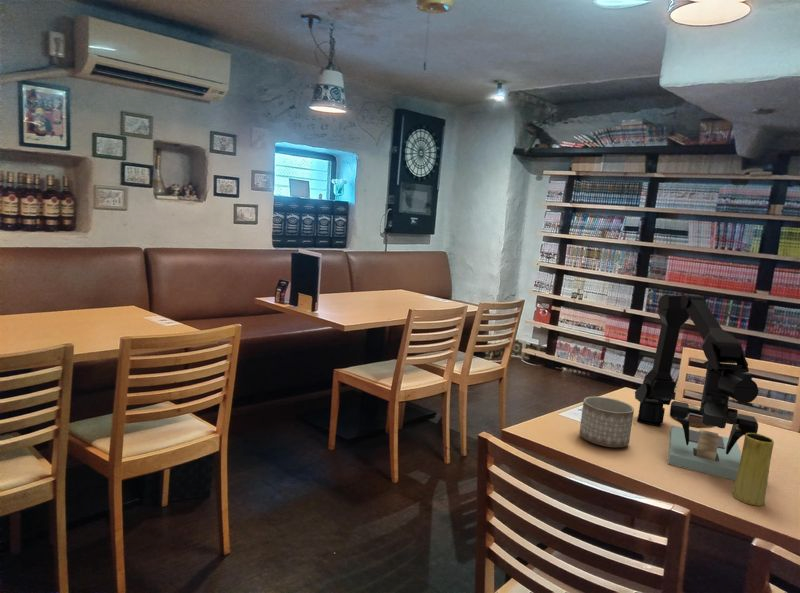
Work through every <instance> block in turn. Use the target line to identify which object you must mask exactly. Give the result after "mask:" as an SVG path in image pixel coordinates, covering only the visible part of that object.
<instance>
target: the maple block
mask: <svg viewBox="0 0 800 593" xmlns="http://www.w3.org/2000/svg"><path fill="white" fill-rule="evenodd" d="M699 431H700V433H699V439H698V445H697V451H696V456H698V457H702V458H706V459H710V460H714V461H715V459H716V453H717V448H718V442H719V436H720V435H719V433H717V432H714V431H709V430H703V429H699Z"/></svg>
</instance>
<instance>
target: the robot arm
mask: <svg viewBox="0 0 800 593" xmlns="http://www.w3.org/2000/svg"><path fill="white" fill-rule="evenodd" d="M657 303H658V304H657V305H658V310H657V314H658V316H659V319H660V320H661V326H660V330H659V331H660V332H659V335H658V339H657V345H656V349H655V356H654V361H653V366H652V369H650V370H649V372H648V373H647V374H645V376H644V378H643V382H642V384H640V386H639V387H638V388H637V389H636V390H635V391H634V399H635V400H636V401H638V402H639V408H638V414H637V418H636V421H637V422H638V423H644V424H647V425H652V426H656V427H661V425H662V424H663V423H664V417H665V410H666V409H665V407H664V405H667V406H670V408H669V416H670V417H672V418H673V417H676V419H675V420H676V421H678V422H680V424H681V426H682V428H683V430H684V434H685V440H686V445H688V444H689V429H690V426H689V415H690V416H695V417H699V418H703V419H702V423H703V424H705V425H708V426H707V427H711V426H712V427H716V428H718V429H725V428H726V425H727V424H729V425H732V427H731V429H730V433H729V437H728V438H729V440H728V443H727V447H726V454H727V455H728V454H729V452H730V450H731V449H732V447H733V446H734V444H735V443H736V442H737V443H738V440H740V438H741V437H744V436H745V434H746V433H756V434H758V430H759V423H758V421H757V420H758V419H756V418H755V416H753V415H749V414H748V415H747V414H743V413H739V411H738V409H736V408H731V407H729V403H730V402H729V400H730V398H731V399H733V400H734V401H737V402H739V403H741V404H749V403H751V402H753V401H755V399H756V398H757V397H758V394H759V391H760V390H759V387H758V386H759V385H758V384H757V383H756V381H754V380H753V374H751V373H750V372H749V371H750V370H749V363H748V361H747V359H746V356H745V352H744V348H743V346H742V343H741V342H739V340H738V339H737V338H736V337H735V336H734V335H732V334H730V333H729V332H727V331H725V330H724V329H723V328H722V326H721V325H720V323H719V321H718V320H717V319H716V317H715V316H714V314H713V313H712V311H711V310H710V308H709V306H708V305H707V304H706V303H707V302H706V298H705V297H704V296H702V295H701V294H700V295H698V294H685V295H684V294H671V293H670V294H669V293H665V294H664V295H663V296H660V298H659V299H658V302H657ZM689 319H691V321H692V323H693V325H694V326H695V328H696V329H697V331H698V333H699V334H700V336H701V338H702V341H703V342H702V345H701V348H702V351H703V353H704V357H705V358H706V361H704V362H703V363H702V366H703V367H704V368H706V372H705V376H704V384H703V390H702V396H701V400H700V407H699V408H700V410H698V409H693V408H689V405H690V404H689V403H688V402H687V403H686V402H684V401H683V402H682V401H677V400H673V397H674V395H675V389H676V386H677V383H676V381H675V380H674V379H673V377H672V375H671V373H672V368H673V365H674V359H675V356H676V355H675V354H676V349H677V345H678V340H679V336H680V332H681V328H682V326H683V325H684V324H685V323H686V322H688V320H689ZM672 400H673V401H672ZM709 425H711V426H709Z"/></svg>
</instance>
